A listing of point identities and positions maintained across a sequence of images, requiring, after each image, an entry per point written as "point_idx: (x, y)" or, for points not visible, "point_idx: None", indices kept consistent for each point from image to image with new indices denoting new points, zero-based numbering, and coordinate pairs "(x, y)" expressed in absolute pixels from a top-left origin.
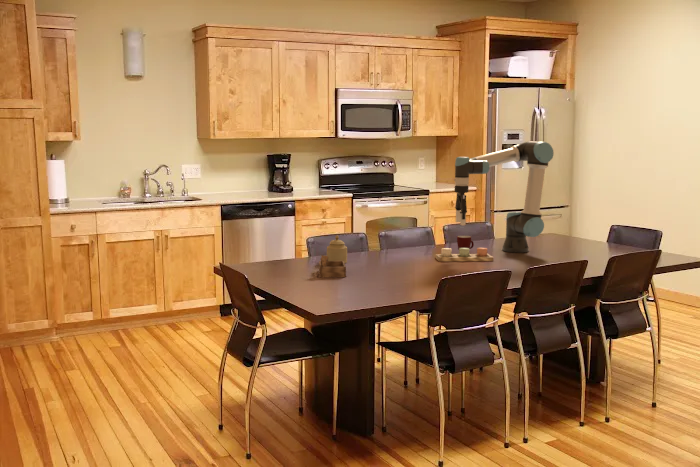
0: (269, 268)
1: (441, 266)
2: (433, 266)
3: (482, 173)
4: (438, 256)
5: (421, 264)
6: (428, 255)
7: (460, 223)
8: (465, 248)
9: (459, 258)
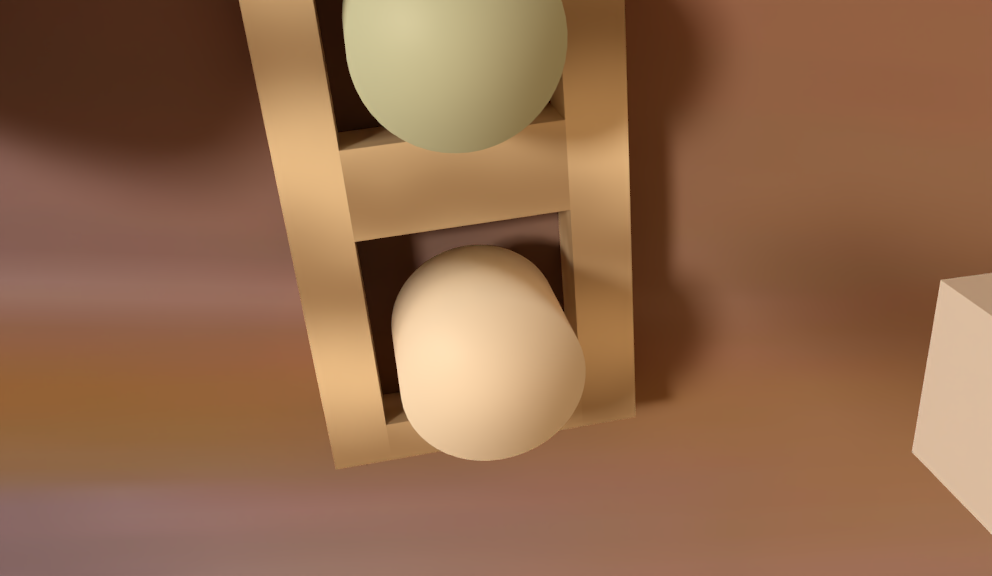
0: None
1: None
2: None
3: None
4: None
5: (794, 567)
6: (134, 526)
7: (964, 491)
8: (434, 17)
9: (622, 118)
